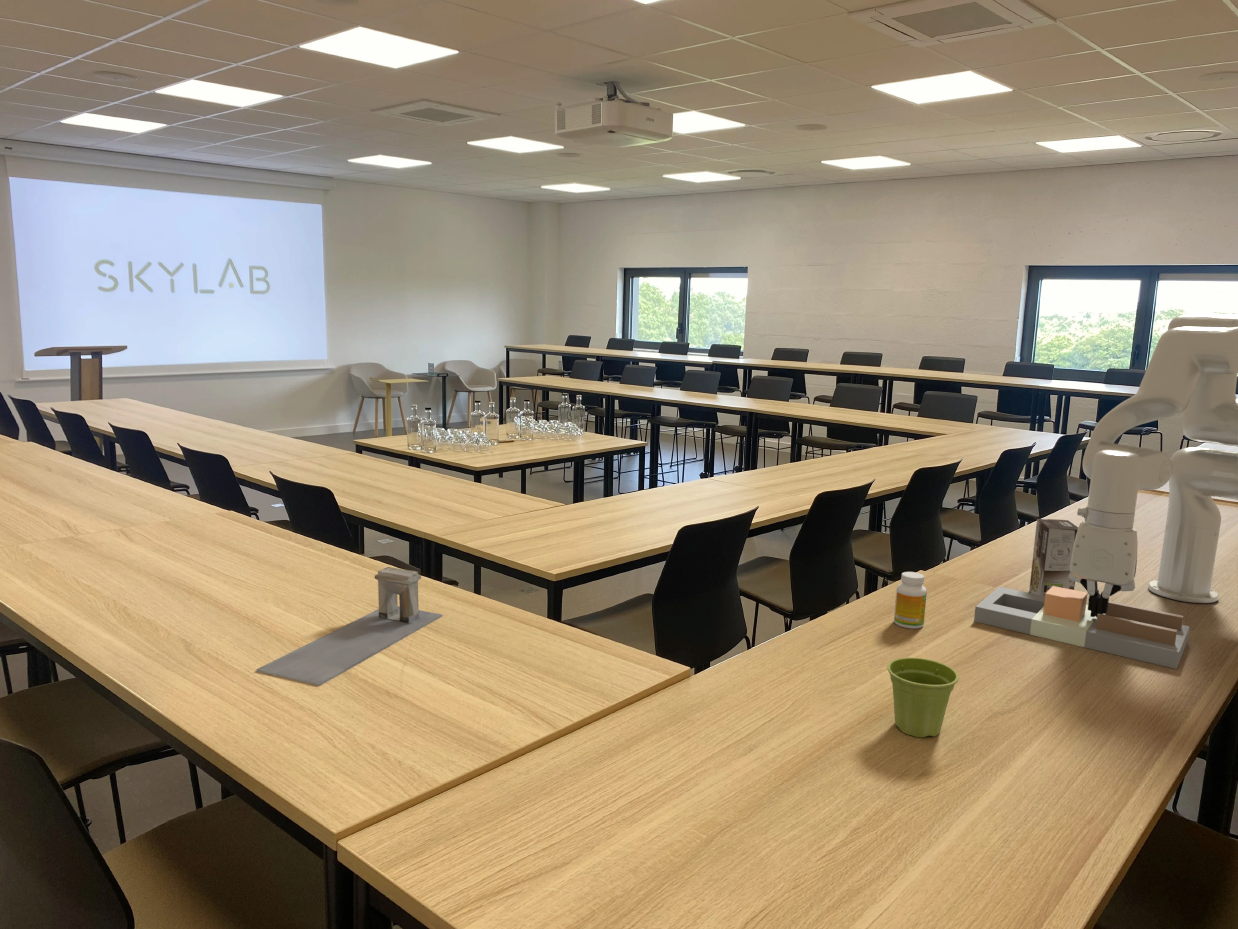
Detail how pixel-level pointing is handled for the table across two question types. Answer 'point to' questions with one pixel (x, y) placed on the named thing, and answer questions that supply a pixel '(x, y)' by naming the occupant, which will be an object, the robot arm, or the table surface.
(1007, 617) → the compartment tray
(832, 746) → the table surface
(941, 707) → the plant pot
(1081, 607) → the block
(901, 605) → the supplement bottle
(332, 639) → the monument
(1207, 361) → the robot arm
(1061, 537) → the coffee box
